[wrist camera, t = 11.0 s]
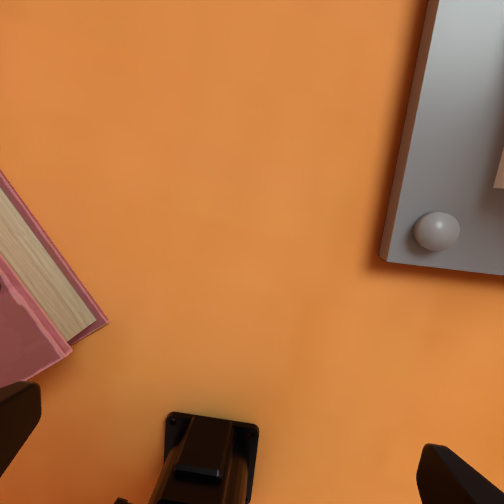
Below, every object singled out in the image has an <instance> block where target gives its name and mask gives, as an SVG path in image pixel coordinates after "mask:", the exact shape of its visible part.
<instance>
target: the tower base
mask: <svg viewBox="0 0 504 504" xmlns="http://www.w3.org/2000/svg"><path fill="white" fill-rule="evenodd" d="M379 256H380V257H381V258H382V259H384V260H385V261H386V262H393V263H402V264H410V265H419V266H427V267H436V268H444V269H452V270H461V271H469V272H478V273H486V274H494V275H503V276H504V0H428V5H427V10H426V16H425V21H424V26H423V31H422V36H421V41H420V46H419V51H418V57H417V62H416V67H415V72H414V77H413V82H412V87H411V92H410V97H409V103H408V108H407V113H406V118H405V123H404V128H403V133H402V138H401V144H400V149H399V154H398V159H397V164H396V169H395V174H394V179H393V185H392V190H391V195H390V200H389V205H388V210H387V215H386V220H385V225H384V231H383V236H382V241H381V246H380V251H379Z"/></svg>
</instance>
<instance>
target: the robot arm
mask: <svg viewBox="0 0 504 504" xmlns="http://www.w3.org/2000/svg"><path fill="white" fill-rule="evenodd" d="M40 417H41V390H40V386H39V384H37V383H34V382H28V381H18V382H15V383H13V384H10V385H7V386H4V387H2V388H0V477H1V476H2V474H3V473H4V471H5V470H6V469H7V467H8V466H9V464H10V463H11V461H12V460H13V459H14V457H15V456H16V454H17V453H18V451H19V450H20V448H21V447H22V446H23V444H24V443H25V441H26V440H27V438H28V437H29V435H30V434H31V433H32V431H33V430H34V428H35V427H36V425H37V424H38V422H39V420H40ZM172 419H175V420H176V421H173V420H172ZM250 431H253V432H254V433H250ZM258 438H259V428H258V426H256V425H255V424H250V423H244V422H237V421H231V420H224V419H218V418H211V417H205V416H198V415H192V414H185V413H179V412H171V413H170V414H169V415H168V417H167V419H166V430H165V450H164V466H163V469H162V471H161V473H160V476H159V478H158V481H157V483H156V486H155V488H154V490H153V493H152V495H151V498H150V500H149V502H148V504H248V503H250V500H251V493H252V485H253V477H254V469H255V462H256V454H257V446H258ZM416 481H417V486H418V490H419V494H420V497H421V501H422V504H504V493H503V492H502V491H501V490H499V489H498V488H497V487H496V486H494V485H493V484H492V483H491V482H490V481H488V480H487V479H486V478H485V477H483V476H482V475H481V474H480V473H479V472H477V471H476V470H475V469H474V468H472V467H471V466H470V465H469V464H467V463H466V462H465V461H464V460H463V459H461V458H460V457H459V456H458V455H456V454H455V453H454V452H453V451H451V450H450V449H449V448H448V447H446V446H443V445H437V444H430V443H428V444H426V445H425V446H424V447H423V450H422V454H421V458H420V462H419V465H418V469H417V474H416ZM114 504H132V503H128V500H126V499H122V498H119V497H118V498H117V500H116V501H115V503H114Z"/></svg>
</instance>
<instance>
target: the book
mask: <svg viewBox="0 0 504 504" xmlns="http://www.w3.org/2000/svg"><path fill="white" fill-rule="evenodd" d="M108 322H110V321H109V320H108V319H107V317H106V316H105V314H104V313H103V312H102V310H101V309H100V307H99V306H98V305H97V303H96V302H95V301H94V299H93V298H92V296H91V295H90V294H89V292H88V291H87V289H86V288H85V287H84V285H83V284H82V282H81V281H80V280H79V278H78V277H77V276H76V274H75V273H74V271H73V270H72V269H71V267H70V266H69V264H68V263H67V262H66V260H65V259H64V257H63V256H62V255H61V253H60V252H59V251H58V249H57V248H56V246H55V245H54V244H53V242H52V241H51V239H50V238H49V237H48V235H47V234H46V232H45V231H44V230H43V228H42V227H41V226H40V224H39V223H38V221H37V220H36V219H35V217H34V216H33V214H32V213H31V212H30V210H29V209H28V207H27V206H26V205H25V203H24V202H23V201H22V199H21V198H20V196H19V195H18V194H17V192H16V191H15V189H14V188H13V187H12V185H11V184H10V182H9V181H8V180H7V178H6V177H5V176H4V174H3V173H2V171H1V170H0V388H2V387H4V386H7V385H10V384H13V383H15V382H18V381H27V380H28V379H30V378H32V377H33V376H35V375H37V374H38V373H40V372H42V371H43V370H45V369H47V368H49V367H50V366H52V365H54V364H55V363H57V362H59V361H60V360H62V359H64V358H65V357H67V356H68V355H69V354H70V353H71V352H73V350H72V348H71V347H70V346H71V345H72V344H74V343H76V342H77V341H79V340H81V339H82V338H84V337H86V336H87V335H89V334H91V333H92V332H94V331H96V330H97V329H99V328H101V327H102V326H104V325H106V324H107V323H108Z"/></svg>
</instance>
